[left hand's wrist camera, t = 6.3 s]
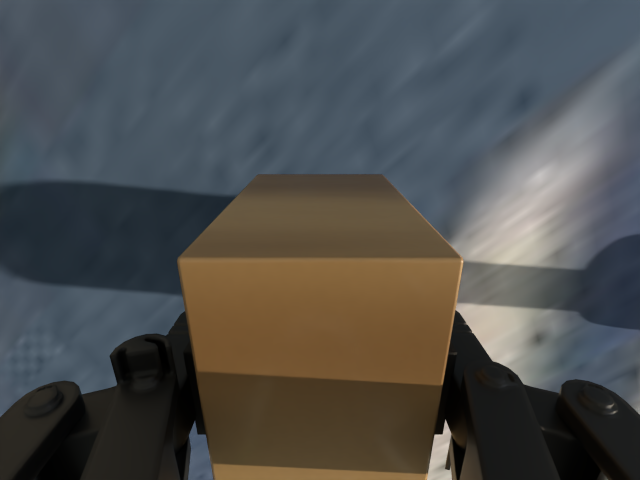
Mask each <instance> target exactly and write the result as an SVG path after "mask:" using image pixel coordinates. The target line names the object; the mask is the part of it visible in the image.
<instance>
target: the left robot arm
mask: <svg viewBox="0 0 640 480" xmlns="http://www.w3.org/2000/svg"><path fill="white" fill-rule="evenodd" d="M110 359H111V363H112V366H113V370H114V373H115V377H116V381H117V386H114V387H111V388H108V389H104V390H99V391H95V392H91V393H86V394H81V391H80V388H79V386H78V385H77V384H75V383H74V382H70V381H59V382H53V383H50V384H47V385H44V386H41V387H38V388H37V389H35V390H33V391H31V392H29V393H27V394H26V395H24V396H23V397H22V398H21V399H19V400H18V401H17V402H16V403H14V404H13V405H12V406H11V407H10V408H9V409H8V410H7V411H6V412H5V413H4V414H3V415H2V416H1V417H0V480H188V473H189V463H190V453H191V446H190V439H189V434H190V431H191V429H192V426H193V424H194V421H195V422H196V428H197V433H198V434H206V432H205V426H204V420H203V414H202V408H201V402H200V396H199V390H198V384H197V378H196V372H195V366H194V360H193V354H192V348H191V342H190V336H189V330H188V324H187V318H186V312H183V313H182V314H181V315H180V316H179V318H178V319H177V321H176V322H175V324H174V326H173V327H172V328H171V329H170V331H169V334H167V335H166V336H164V335H160V334H145V335H141V336H137V337H134V338H132V339H130V340H127V341H125V342H123V343H122V344H121V345H119V346H118V347H117V348H115V349H114V351H113V352H112V353H111V355H110ZM445 419H446V421H447V424H448V426H449V429H450V431H451V439H450V445H449V450H448V455H447V460H446V467H445V469H447V470H450V466H451V472H452V480H640V415H639V414H638V413H637V412H636V411H635V410H634V409H633V408H632V407H631V406H630V405H629V404H628V403H627V402H626V401H625V400H623V399H622V398H621V397H620V396H618V395H617V394H616V393H614V392H612V391H611V390H609V389H607V388H605V387H603V386H601V385H598V384H595V383H592V382H589V381H584V380H577V379H575V380H569V381H566V382H565V383H564V384H563V385H562V386H561V389H560V392H559V393H556V392H551V391H547V390H543V389H538V388H534V387H530V386H527V385H524V384H523V383H522V381H521V380H520V378H519V377H518V375H516V374H515V373H514V372H513V371H512V370H510V369H509V368H507V367H505V366H503V365H501V364H499V363H497V362H493V361H492V360H491V358H490V357H489V355H488V354H487V353H486V351H485V350H484V348H483V347H482V345H481V344H480V342H479V341H478V339H477V338H476V336H475V335H474V334H473V333H472V331H471V329H470V328H469V326H468V325H466V322H465V320H464V319H463V317H462V316H461V315H460V313H459V312H457V311H456V310H455V315H454V321H453V327H452V333H451V339H450V345H449V351H448V357H447V362H446V368H445V374H444V380H443V386H442V392H441V398H440V404H439V410H438V416H437V422H436V428H435V434H443V429H444V423H445Z"/></svg>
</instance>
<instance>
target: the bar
mask: <svg viewBox="0 0 640 480" xmlns="http://www.w3.org/2000/svg"><path fill="white" fill-rule="evenodd" d="M177 265H178V271H179V277H180V283H181V288H182V294H183V300H184V306H185V312H186V318H187V324H188V330H189V336H190V342H191V348H192V354H193V360H194V366H195V372H196V378H197V384H198V390H199V396H200V402H201V408H202V414H203V420H204V426H205V432H206V437H207V443H208V449H209V455H210V461H211V467H212V473H213V479H214V480H427V475H428V469H429V463H430V457H431V452H432V446H433V440H434V434H435V428H436V422H437V416H438V410H439V404H440V398H441V392H442V386H443V380H444V374H445V368H446V362H447V357H448V351H449V345H450V339H451V333H452V327H453V321H454V315H455V309H456V303H457V297H458V291H459V285H460V279H461V273H462V268H463V258H462V257H461V256H460V255H459V254H458V253H457V252H456V251H455V249H454V248H453V247H452V246H451V245H450V244H449V243H448V242H447V241H446V240H445V239H444V238H443V237H442V236H441V235H440V234H439V233H438V232H437V231H436V230H435V229H434V228H433V227H432V226H431V224H430V223H429V222H428V221H427V220H426V219H425V218H424V217H423V216H422V215H421V214H420V213H419V212H418V211H417V210H416V209H415V208H414V207H413V206H412V205H411V204H410V203H409V202H408V201H407V200H406V198H405V197H404V196H403V195H402V194H401V193H400V192H399V191H398V190H397V189H396V188H395V187H394V186H393V185H392V184H391V183H390V182H389V181H388V180H387V179H386V178H385V177H384V176H383V175H382V174H259V175H257V176H256V177H255V178H254V179H253V180H252V181H251V182H250V183H249V184H248V185H247V186H246V187H245V188H244V189H243V190H242V191H241V192H240V194H239V195H238V196H237V197H236V198H235V199H234V200H233V201H232V202H231V203H230V204H229V205H228V206H227V207H226V208H225V209H224V210H223V211H222V212H221V213H220V214H219V215H218V217H217V218H216V219H215V220H214V221H213V222H212V223H211V224H210V225H209V226H208V227H207V228H206V229H205V230H204V231H203V232H202V233H201V234H200V235H199V236H198V237H197V238H196V239H195V241H194V242H193V243H192V244H191V245H190V246H189V247H188V248H187V249H186V250H185V251H184V252H183V253H182V254H181V255H180V256H179V257H178V260H177Z"/></svg>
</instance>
